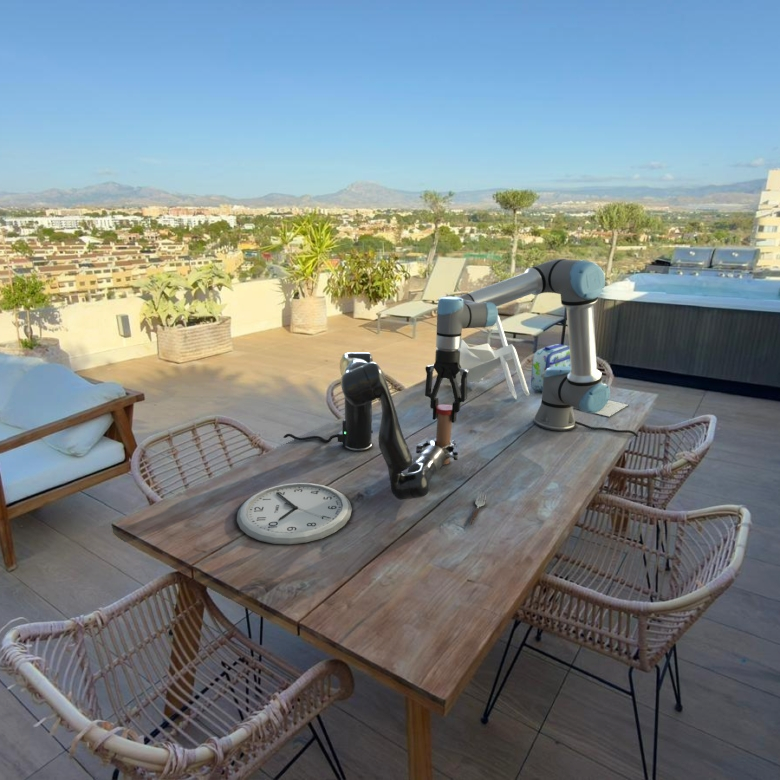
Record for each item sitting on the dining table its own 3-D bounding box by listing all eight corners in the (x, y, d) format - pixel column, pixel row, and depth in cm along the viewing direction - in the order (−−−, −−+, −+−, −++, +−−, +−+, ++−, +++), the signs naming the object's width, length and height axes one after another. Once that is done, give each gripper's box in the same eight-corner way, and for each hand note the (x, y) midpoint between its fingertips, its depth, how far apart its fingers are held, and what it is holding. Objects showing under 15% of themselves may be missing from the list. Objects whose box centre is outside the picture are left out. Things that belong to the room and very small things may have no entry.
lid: (449, 416, 162) (449, 411, 161) (432, 413, 165) (433, 408, 164) (456, 411, 167) (456, 406, 166) (440, 408, 169) (440, 403, 169)
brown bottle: (445, 466, 168) (448, 412, 162) (432, 462, 170) (435, 409, 164) (451, 460, 172) (454, 407, 166) (438, 457, 174) (441, 405, 168)
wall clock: (352, 536, 126) (224, 540, 123) (352, 542, 126) (225, 546, 123) (351, 478, 154) (247, 481, 151) (351, 483, 155) (247, 486, 152)
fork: (465, 526, 134) (465, 519, 133) (477, 497, 148) (477, 491, 147) (475, 528, 133) (476, 521, 132) (486, 499, 147) (487, 492, 147)
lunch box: (547, 396, 238) (552, 351, 232) (526, 391, 246) (531, 347, 239) (574, 385, 256) (579, 343, 250) (554, 380, 263) (559, 340, 257)
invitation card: (608, 416, 214) (573, 407, 224) (608, 416, 214) (573, 408, 224) (628, 404, 229) (594, 396, 238) (628, 405, 229) (594, 397, 238)
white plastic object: (461, 429, 252) (437, 405, 227) (444, 352, 274) (420, 323, 250) (535, 404, 240) (518, 377, 215) (510, 326, 262) (492, 293, 237)
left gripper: (453, 454, 153) (467, 434, 168) (407, 446, 158) (425, 427, 173) (451, 477, 155) (466, 455, 170) (406, 468, 160) (424, 448, 175)
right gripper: (481, 349, 159) (476, 420, 166) (423, 343, 166) (421, 411, 173) (474, 354, 153) (469, 428, 159) (415, 347, 160) (412, 418, 167)
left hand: (445, 441), depth 171 cm, fingers closed on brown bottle, 4 cm apart
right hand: (444, 419), depth 166 cm, fingers closed on lid, 6 cm apart
